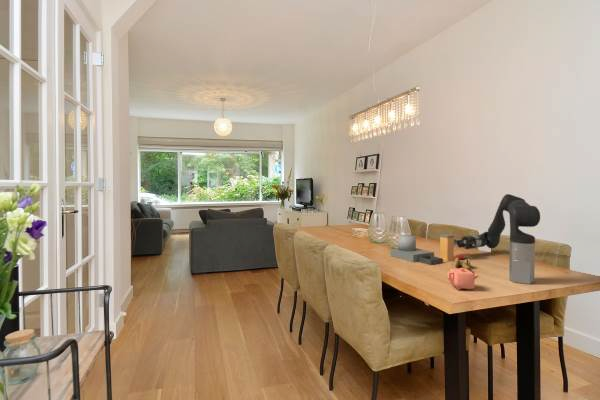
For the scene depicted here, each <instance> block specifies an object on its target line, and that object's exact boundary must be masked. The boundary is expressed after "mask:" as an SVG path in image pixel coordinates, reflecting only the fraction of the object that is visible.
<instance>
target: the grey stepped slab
mask: <svg viewBox="0 0 600 400" xmlns="http://www.w3.org/2000/svg"><path fill="white" fill-rule="evenodd" d="M397 243H398V244H397V245H398V246H397V248H391V249H390V257H393V258H397V259H400V260H402V261H403V260H404V261H407V262H411V263H417V262H418V263H422V264H426V265H429V266H432V265H433V266H434V265H439V264H443V263H444V262H443V261H444V260H443V258H440V256H435V252H434V251H430V250H426V249H421V248H417V237H416V235H410V234H400V235H398V240H397Z"/></svg>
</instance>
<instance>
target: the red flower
mask: <svg viewBox="0 0 600 400" xmlns="http://www.w3.org/2000/svg"><path fill="white" fill-rule="evenodd" d="M452 262H453V265H454V267H461V268H464V269H467V270H469V271H471V272H472V271H473V270H472V268H471V260H470V258H465V256H464V255H462V254H455V255H454V258H453V260H452ZM472 273H473V272H472Z"/></svg>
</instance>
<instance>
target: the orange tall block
mask: <svg viewBox="0 0 600 400" xmlns="http://www.w3.org/2000/svg"><path fill="white" fill-rule="evenodd" d="M454 239H455V235H454V234H448V233H447V234H446V233H444V234H439V258H443V261H446V262H450V261H453V258H454V256H455V254H454V253H455V248H454V247H455V246H454Z"/></svg>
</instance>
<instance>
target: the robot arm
mask: <svg viewBox="0 0 600 400" xmlns="http://www.w3.org/2000/svg"><path fill="white" fill-rule="evenodd" d="M504 211H505V212H507V213H509V265H508V267H509V272H508V273H509V274H508V275H509V276H508V277H509V278H508V279H509V281H511V282H513V283H518V284H519V283H520V284H527V285H531V284H534V283H535V267H536V266H535V262H536V261H535V259H536V257H535V255H536V238H535V237H536V236H534V235H532V234H529V233H526V232H523V231H522V230H521V229H520V227H523V228H525V227H527V228H533V227H537V226H538V225H539V224H540V221H541V213H540V210H539V208H538V207H537V206H535V205H531V204H529V203H528V202H526V200H525V199H523V198H521V197H519V196H516V195H513V194H510V193H507V194H505V195H504V196H503V197H502V198H501V201H500V202H499V205H498V207H497V209H496V212H495V214H494V216H493V219H492V222H491V223H490V226H489V227H488V229H487V231H484V232H483V233H482V232H481V234H477V235H466V236H463V237H461V238H460V239H456V238H454V247H455V246H456V247H458V248H463V249H466V250H471V249H477V248H483V247H485V246H486V247H487V248H488V249H495V248H497V247H498V246H499V244H500V241H501V234H502V232H503V231H504V230H505V228H506V221H505V216H504Z"/></svg>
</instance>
